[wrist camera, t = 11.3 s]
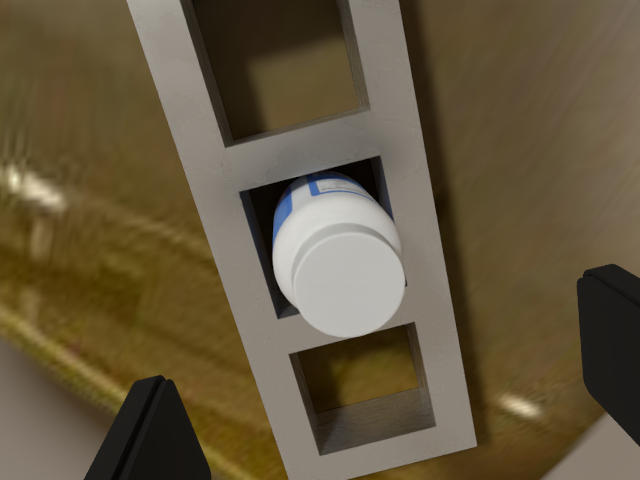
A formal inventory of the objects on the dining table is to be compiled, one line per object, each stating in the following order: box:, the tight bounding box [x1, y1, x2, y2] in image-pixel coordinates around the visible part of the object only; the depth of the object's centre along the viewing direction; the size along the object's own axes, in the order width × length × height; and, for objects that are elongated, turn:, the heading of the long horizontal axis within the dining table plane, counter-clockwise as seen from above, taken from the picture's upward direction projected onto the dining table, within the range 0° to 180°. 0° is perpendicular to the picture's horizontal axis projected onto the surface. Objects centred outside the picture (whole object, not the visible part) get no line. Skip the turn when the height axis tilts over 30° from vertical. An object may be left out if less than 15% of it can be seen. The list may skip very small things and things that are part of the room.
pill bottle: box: [273, 171, 405, 338], centre depth 21 cm, size 6×5×10 cm
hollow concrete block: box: [127, 0, 477, 480], centre depth 24 cm, size 28×11×4 cm, turn 14°
